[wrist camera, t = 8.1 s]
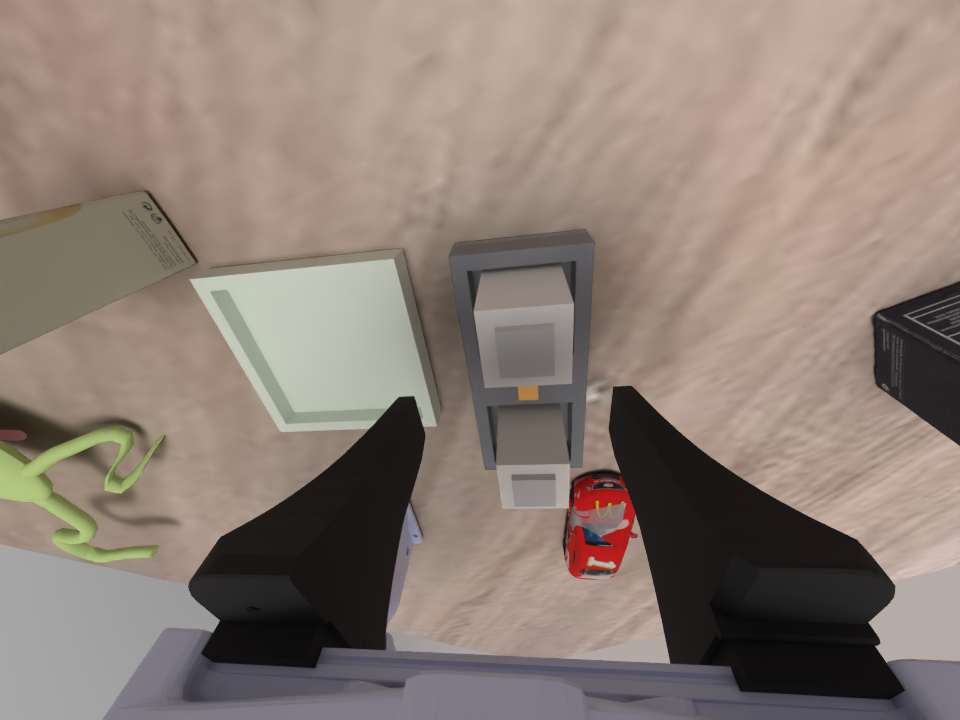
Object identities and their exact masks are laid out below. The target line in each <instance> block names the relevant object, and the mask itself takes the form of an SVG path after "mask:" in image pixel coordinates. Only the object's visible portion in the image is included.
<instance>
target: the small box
mask: <svg viewBox="0 0 960 720" xmlns="http://www.w3.org/2000/svg"><path fill="white" fill-rule="evenodd" d="M875 328H876V344H877V347H876V348H877V351H876V352H877V355H876V361H877V366H876V369H875V371H876V378H877V386H878V387H879V388H880V389H882V390H883V391H885V392H886V393H888V394H889V395H890V396H892V397H893V398H894V399H896V400H897V401H899V402H900V403H902V404H903V405H904V406H906V407H907V408H908V409H910V410H911V411H913V412H914V413H915V414H917V415H918V416H919V417H921V418H922V419H923V420H925V421H926V422H928V423H929V424H930V425H932V426H933V427H934V428H936V429H937V430H939V431H940V432H941V433H943V434H944V435H946V436H947V437H948V438H950V439H951V440H953V441H954V442H955V443H957V444H958V445H959V446H960V283H959V284H957V285H954V286H951V287H948V288H945V289H943V290H940V291H937V292H934V293H932V294H928V295H926V296H923V297H920V298H918V299H915V300H912V301H909V302H906V303H904V304H901V305H898V306H895V307H893V308H890V309H887V310H884V311H881V312H879V313H878V314H877V316H876V319H875Z"/></svg>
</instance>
